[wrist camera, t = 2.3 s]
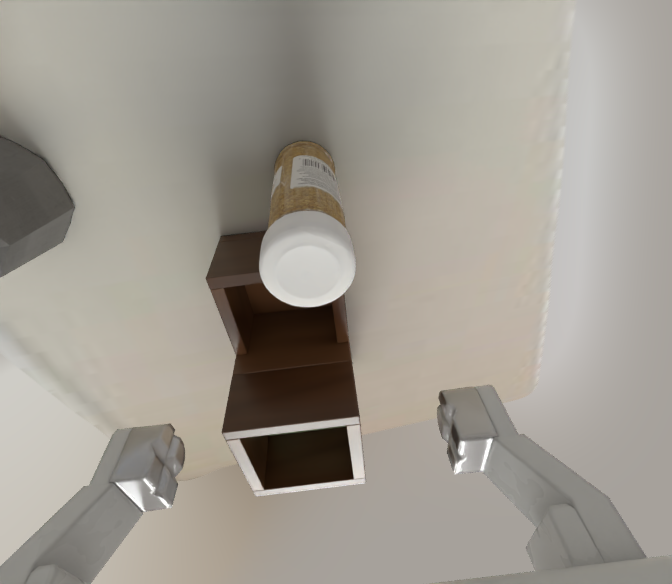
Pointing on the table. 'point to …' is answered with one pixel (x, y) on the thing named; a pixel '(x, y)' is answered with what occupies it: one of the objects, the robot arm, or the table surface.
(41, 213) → the coffeepot
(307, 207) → the sprinkles bottle
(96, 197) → the table surface
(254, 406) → the caddy
